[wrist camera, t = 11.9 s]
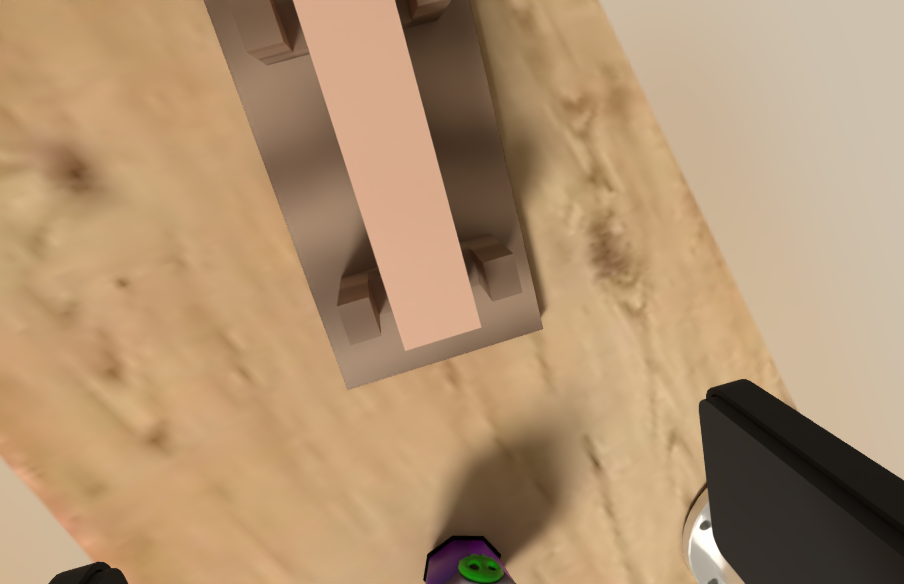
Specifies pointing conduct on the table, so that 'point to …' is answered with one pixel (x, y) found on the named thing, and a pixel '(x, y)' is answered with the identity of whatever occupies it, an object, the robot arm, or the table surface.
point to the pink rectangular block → (391, 163)
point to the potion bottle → (465, 563)
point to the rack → (331, 192)
